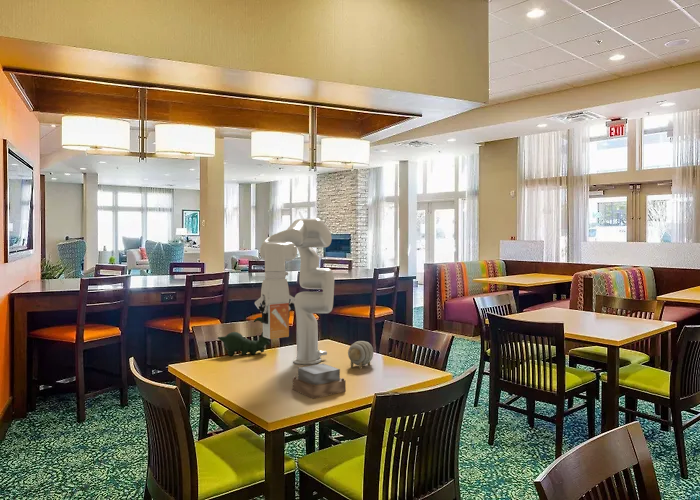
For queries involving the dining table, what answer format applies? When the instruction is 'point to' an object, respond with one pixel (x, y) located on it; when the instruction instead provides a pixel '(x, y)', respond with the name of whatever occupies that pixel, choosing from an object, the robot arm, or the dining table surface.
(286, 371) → the dining table surface
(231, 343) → the toy figurine
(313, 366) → the grey and wooden block
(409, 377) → the dining table surface
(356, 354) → the toy sheep
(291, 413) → the dining table surface
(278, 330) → the small box
